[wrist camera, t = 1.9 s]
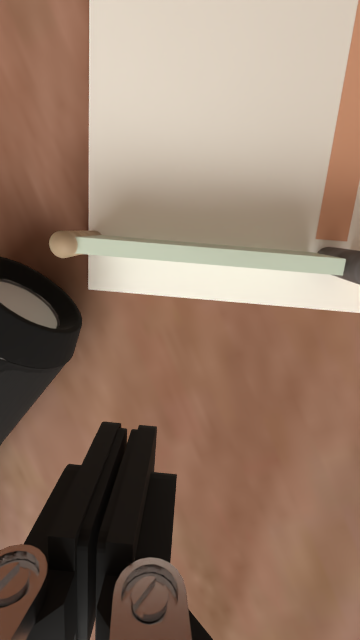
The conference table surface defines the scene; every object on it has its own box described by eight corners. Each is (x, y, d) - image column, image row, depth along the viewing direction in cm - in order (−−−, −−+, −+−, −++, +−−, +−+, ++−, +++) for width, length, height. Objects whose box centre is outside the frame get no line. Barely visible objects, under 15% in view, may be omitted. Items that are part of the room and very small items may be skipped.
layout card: (659, -130, 20) (668, -136, 19) (501, 324, 27) (505, 325, 27) (91, -157, 21) (89, -164, 20) (89, 288, 28) (88, 289, 28)
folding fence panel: (313, 248, 26) (350, 254, 19) (309, 269, 26) (344, 281, 20) (84, 229, 26) (48, 229, 20) (83, 250, 26) (49, 256, 20)
